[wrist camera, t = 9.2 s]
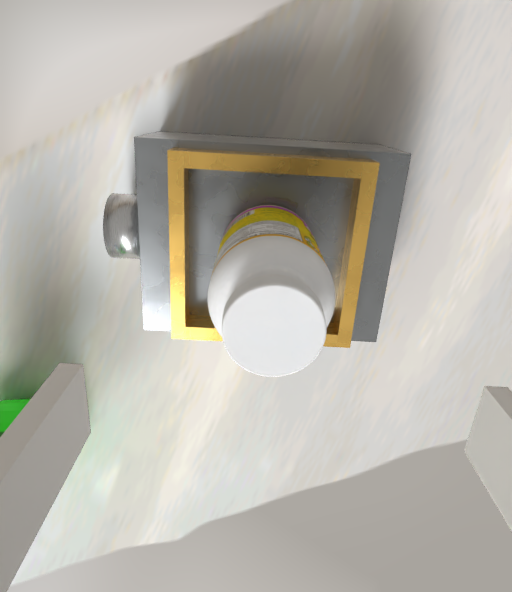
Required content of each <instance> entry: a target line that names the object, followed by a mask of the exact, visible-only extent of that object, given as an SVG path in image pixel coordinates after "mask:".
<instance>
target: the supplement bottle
mask: <svg viewBox="0 0 512 592" xmlns="http://www.w3.org/2000/svg"><path fill="white" fill-rule="evenodd" d="M207 301H208V309H209V314H210V317H211V320H212V322H213V324H214V326H215V328H216V329H217V331H218V333H219V334H220V335H221V336H222V339H223V343H224V346H225V348H226V350H227V352H228V354H229V356H230V357H231V358H232V359H233V360H234V362H236V363H237V364H238V365H239V366H240V367H242V368H243V369H245V370H247V371H249V372H251V373H253V374H256V375H260V376H265V377H280V376H285V375H290V374H293V373H296V372H298V371H300V370H302V369H303V368H305V367H306V366H308V365H309V364H310V363H311V362H312V361H313V360H314V359H315V358H316V357H317V356H318V354H319V353H320V351H321V350H322V348H323V345H324V343H325V339H326V333H327V327H328V325H329V323H330V321H331V318H332V315H333V312H334V307H335V286H334V282H333V279H332V276H331V274H330V271H329V269H328V267H327V265H326V263H325V261H324V258H323V256H322V254H321V252H320V250H319V247H318V245H317V243H316V241H315V238H314V236H313V234H312V232H311V230H310V229H309V227H308V226H307V224H306V223H305V222H304V220H303V219H302V218H301V217H299V216H298V215H297V214H296V213H294V212H293V211H291V210H289V209H287V208H284V207H281V206H276V205H260V206H256V207H252V208H250V209H247V210H245V211H244V212H242V213H240V214H239V215H238V216H237V217H235V218H234V219H233V220H232V221H231V223H230V224H229V225H228V227H227V229H226V230H225V232H224V235H223V237H222V240H221V243H220V247H219V251H218V255H217V258H216V262H215V265H214V269H213V273H212V276H211V279H210V284H209V288H208V299H207Z"/></svg>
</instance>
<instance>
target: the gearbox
mask: <svg viewBox="0 0 512 592" xmlns="http://www.w3.org/2000/svg"><path fill="white" fill-rule="evenodd" d="M134 144H135V165H136V185H137V195H132V194H115V193H113V194H111V195H110V196H109V197H108V199H107V202H106V206H105V211H104V219H103V232H104V241H105V246H106V249H107V252H108V254H109V255H110V256H111V257H113V258H131V259H140V265H141V285H142V305H143V325H144V330H154V331H171V338H172V339H191V340H210V341H223V339H222V336H221V335H220V334H219V333H218V331H217V329H216V328H215V326H214V324H213V322H212V320H211V317H210V314H209V309H208V301H207V299H208V288H209V284H210V279H211V276H212V273H213V269H214V265H215V262H216V258H217V255H218V251H219V247H220V243H221V240H222V237H223V235H224V232H225V230H226V229H227V227H228V225H229V224H230V223H231V221H232V220H233V219H234V218H235V217H237V216H238V215H239V214H240V213H242V212H244V211H245V210H247V209H250V208H252V207H256V206H260V205H276V206H281V207H284V208H287V209H289V210H291V211H293V212H294V213H296V214H297V215H298V216H299V217H301V218H302V219H303V220H304V222H305V223H306V224H307V226H308V227H309V229H310V230H311V232H312V234H313V236H314V238H315V241H316V243H317V245H318V247H319V250H320V252H321V254H322V256H323V258H324V261H325V263H326V265H327V267H328V269H329V271H330V274H331V276H332V279H333V282H334V286H335V307H334V312H333V315H332V318H331V321H330V323H329V325H328V327H327V333H326V339H325V343H324V345H323V346H327V347H346V348H350V344H351V341H365V342H376V339H377V334H378V329H379V323H380V318H381V313H382V307H383V302H384V297H385V291H386V286H387V281H388V275H389V270H390V265H391V259H392V254H393V249H394V243H395V238H396V233H397V227H398V222H399V217H400V211H401V206H402V201H403V196H404V190H405V185H406V180H407V174H408V169H409V164H410V158H411V154H410V153H407V152H404V151H400V150H397V149H393V148H390V147H386V146H383V145H378V144H362V143H345V142H328V141H312V140H295V139H279V138H262V137H246V136H229V135H213V134H196V133H180V132H163V131H159V132H154V133H150V134H146V135H141V136H137V137H134Z"/></svg>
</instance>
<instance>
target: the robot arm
mask: <svg viewBox="0 0 512 592" xmlns="http://www.w3.org/2000/svg"><path fill="white" fill-rule="evenodd" d="M90 433H91V429H90V420H89V412H88V403H87V394H86V386H85V377H84V368H83V364H68V363H59V364H58V365H57V367H56V368H55V369H54V370H53V372H52V373H51V374H50V375H49V377H48V378H47V379H46V380H45V382H44V383H43V384H42V385H41V387H40V388H39V389H38V391H37V392H36V393H35V394H34V396H33V397H32V398H31V399H30V401H29V402H28V403H27V404H26V406H25V407H24V408H23V409H22V411H21V412H20V413H19V414H18V416H17V417H16V418H15V419H14V421H13V422H12V423H11V424H10V426H9V427H8V428H7V429H6V431H5V432H4V433H3V435H2V436H1V437H0V592H7V590H8V588H9V586H10V584H11V582H12V581H13V579H14V577H15V575H16V573H17V571H18V569H19V567H20V565H21V563H22V562H23V560H24V558H25V556H26V554H27V552H28V550H29V548H30V546H31V545H32V543H33V541H34V539H35V537H36V535H37V533H38V531H39V529H40V527H41V526H42V524H43V522H44V520H45V518H46V516H47V514H48V512H49V510H50V508H51V507H52V505H53V503H54V501H55V499H56V497H57V495H58V493H59V491H60V490H61V488H62V486H63V484H64V482H65V480H66V478H67V476H68V474H69V472H70V471H71V469H72V467H73V465H74V463H75V461H76V459H77V457H78V455H79V454H80V452H81V450H82V448H83V446H84V444H85V442H86V440H87V438H88V436H89V435H90ZM464 452H465V454H466V455H467V457H468V459H469V461H470V462H471V464H472V466H473V467H474V469H475V471H476V472H477V474H478V476H479V477H480V479H481V481H482V483H483V484H484V486H485V487H486V489H487V491H488V493H489V494H490V496H491V498H492V499H493V501H494V503H495V504H496V506H497V508H498V509H499V511H500V513H501V514H502V516H503V518H504V520H505V521H506V523H507V525H508V526H509V528H510V530H511V531H512V392H511V390H510V389H509V388H508V387H493V386H484V389H483V393H482V396H481V399H480V402H479V405H478V409H477V412H476V415H475V418H474V421H473V424H472V428H471V431H470V434H469V437H468V440H467V444H466V447H465V450H464Z"/></svg>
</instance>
